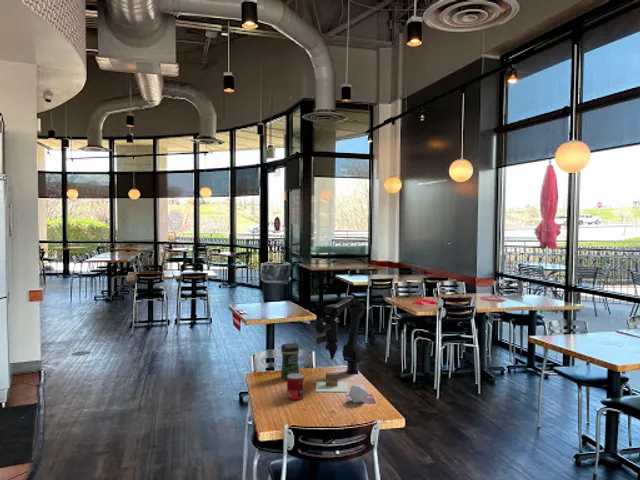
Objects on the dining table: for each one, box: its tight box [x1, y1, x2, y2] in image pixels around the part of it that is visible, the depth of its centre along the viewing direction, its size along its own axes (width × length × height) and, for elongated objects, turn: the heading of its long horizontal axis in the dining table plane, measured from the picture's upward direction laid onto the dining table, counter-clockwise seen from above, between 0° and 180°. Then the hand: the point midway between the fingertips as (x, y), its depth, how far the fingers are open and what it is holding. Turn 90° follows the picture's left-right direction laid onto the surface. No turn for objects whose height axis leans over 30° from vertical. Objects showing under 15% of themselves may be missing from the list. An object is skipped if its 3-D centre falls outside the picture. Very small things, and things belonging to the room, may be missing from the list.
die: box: [348, 383, 369, 404], centre depth 220 cm, size 8×9×10 cm
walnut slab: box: [325, 372, 339, 386], centre depth 241 cm, size 2×6×6 cm, turn 87°
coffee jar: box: [280, 342, 300, 380], centre depth 256 cm, size 10×8×19 cm
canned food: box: [286, 372, 305, 402], centre depth 225 cm, size 8×8×11 cm
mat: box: [314, 381, 349, 393], centre depth 240 cm, size 14×16×1 cm
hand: (332, 358), depth 248 cm, fingers closed
